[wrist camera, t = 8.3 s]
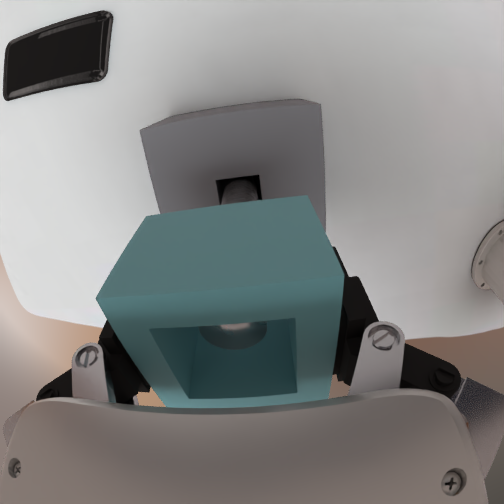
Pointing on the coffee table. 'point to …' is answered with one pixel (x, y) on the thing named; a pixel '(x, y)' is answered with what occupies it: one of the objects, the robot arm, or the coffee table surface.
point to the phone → (58, 56)
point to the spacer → (229, 303)
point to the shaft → (241, 332)
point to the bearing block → (238, 154)
